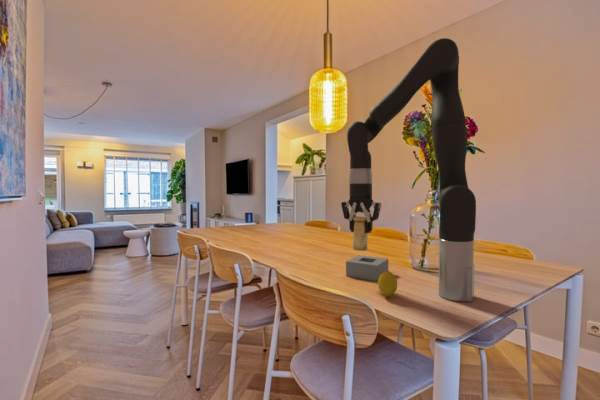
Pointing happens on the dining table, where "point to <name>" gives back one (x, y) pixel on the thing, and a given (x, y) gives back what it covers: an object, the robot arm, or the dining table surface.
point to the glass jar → (360, 233)
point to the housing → (366, 267)
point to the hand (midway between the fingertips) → (360, 232)
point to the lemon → (387, 283)
